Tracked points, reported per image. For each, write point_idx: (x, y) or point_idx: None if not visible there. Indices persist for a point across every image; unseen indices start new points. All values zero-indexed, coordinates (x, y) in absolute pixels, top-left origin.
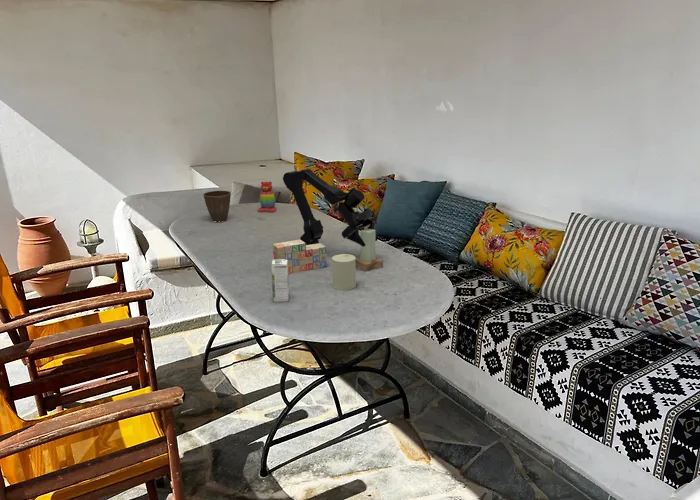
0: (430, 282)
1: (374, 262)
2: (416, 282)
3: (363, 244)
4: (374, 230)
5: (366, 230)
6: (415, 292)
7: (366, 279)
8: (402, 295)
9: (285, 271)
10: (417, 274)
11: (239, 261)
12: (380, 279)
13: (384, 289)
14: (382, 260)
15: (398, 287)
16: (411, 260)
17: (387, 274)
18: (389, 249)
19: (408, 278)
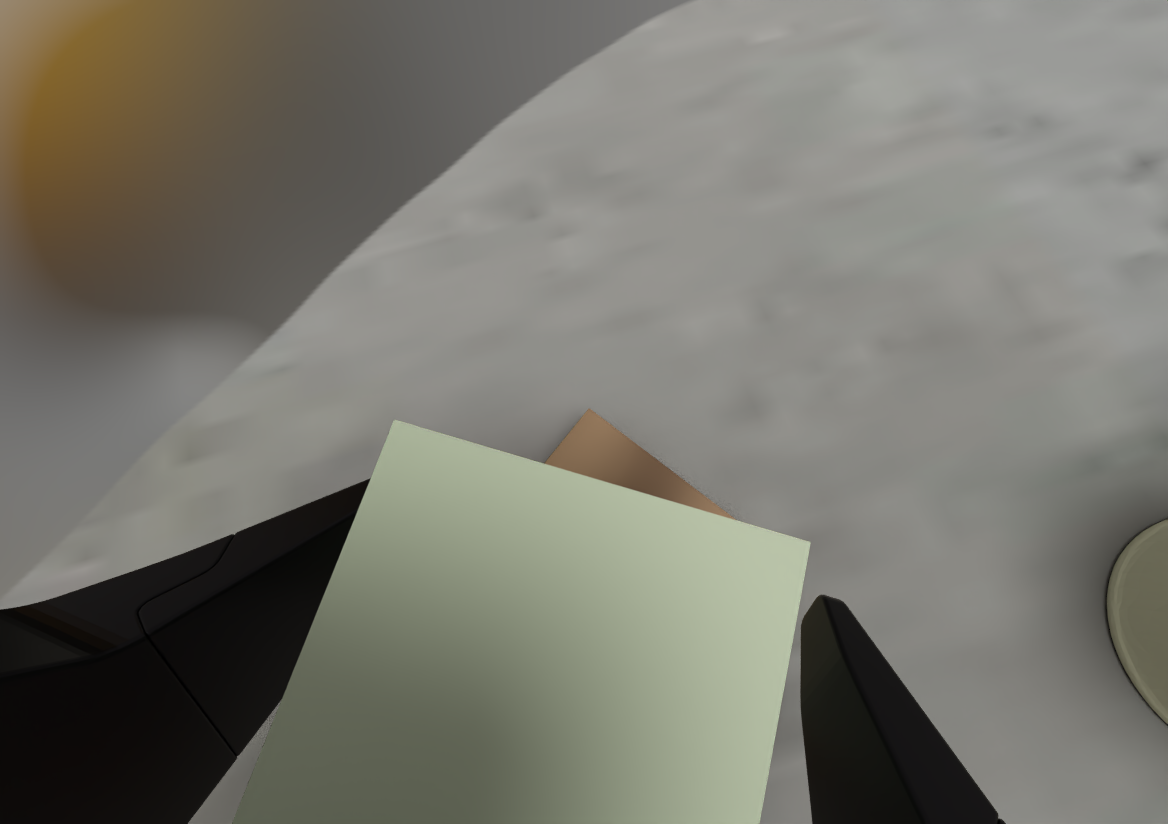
0: (785, 43)
1: (673, 472)
2: (826, 111)
3: (856, 643)
4: (454, 438)
5: (542, 787)
6: (1020, 66)
7: (954, 471)
8: (1132, 117)
9: None
10: (666, 148)
11: None
12: (892, 356)
13: (1096, 261)
14: (587, 412)
15: (991, 184)
16: (385, 262)
17: (751, 337)
18: (138, 498)
19: (771, 177)
